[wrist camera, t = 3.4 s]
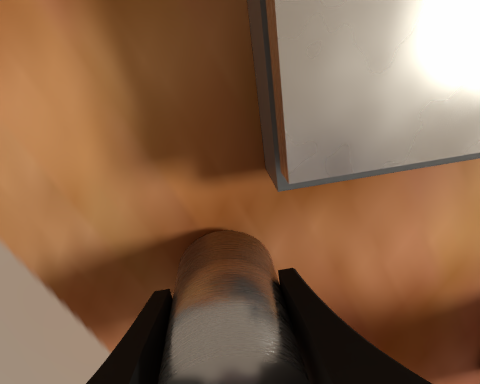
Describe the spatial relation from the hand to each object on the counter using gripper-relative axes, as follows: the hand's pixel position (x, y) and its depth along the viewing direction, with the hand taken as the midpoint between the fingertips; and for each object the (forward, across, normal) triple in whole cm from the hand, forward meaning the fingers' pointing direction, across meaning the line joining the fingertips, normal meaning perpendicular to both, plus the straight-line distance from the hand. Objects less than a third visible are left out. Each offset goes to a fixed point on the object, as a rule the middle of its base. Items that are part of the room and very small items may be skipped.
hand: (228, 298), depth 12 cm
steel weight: (+2, 0, 0) cm, 2 cm away
